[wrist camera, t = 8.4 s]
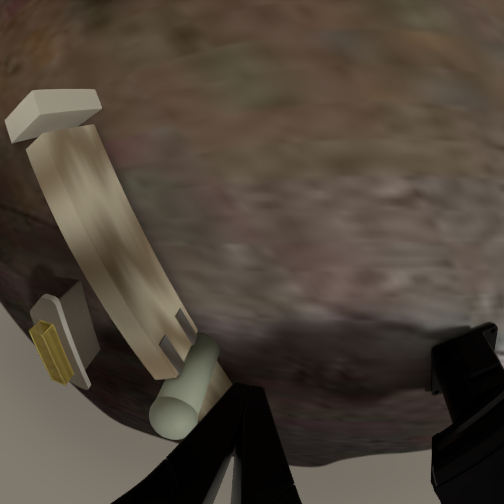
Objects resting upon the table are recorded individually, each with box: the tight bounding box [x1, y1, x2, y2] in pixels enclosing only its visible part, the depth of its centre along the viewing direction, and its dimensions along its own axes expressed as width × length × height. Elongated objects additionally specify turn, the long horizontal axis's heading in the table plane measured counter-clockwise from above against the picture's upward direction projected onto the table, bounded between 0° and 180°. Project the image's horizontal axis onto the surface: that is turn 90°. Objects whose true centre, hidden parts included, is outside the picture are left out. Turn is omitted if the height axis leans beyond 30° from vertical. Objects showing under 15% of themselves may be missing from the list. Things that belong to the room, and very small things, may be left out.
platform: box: [29, 280, 100, 390], centre depth 22 cm, size 12×18×7 cm, turn 177°
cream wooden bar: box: [26, 124, 198, 380], centre depth 18 cm, size 17×2×5 cm, turn 23°
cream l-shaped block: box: [5, 89, 102, 143], centre depth 15 cm, size 4×4×6 cm
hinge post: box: [149, 333, 220, 440], centre depth 20 cm, size 3×3×9 cm
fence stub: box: [198, 361, 232, 421], centre depth 23 cm, size 5×1×5 cm, turn 22°
